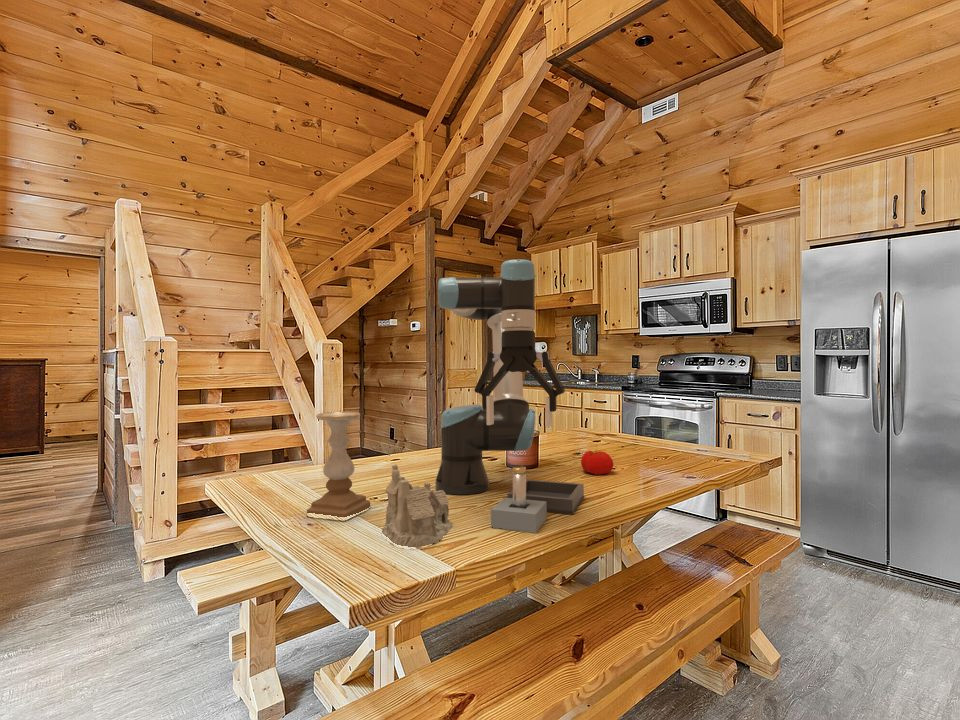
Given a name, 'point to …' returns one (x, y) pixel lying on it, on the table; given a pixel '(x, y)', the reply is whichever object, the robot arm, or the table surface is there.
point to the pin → (519, 487)
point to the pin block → (519, 515)
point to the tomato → (597, 462)
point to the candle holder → (339, 471)
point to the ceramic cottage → (415, 513)
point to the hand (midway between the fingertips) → (519, 425)
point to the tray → (555, 495)
